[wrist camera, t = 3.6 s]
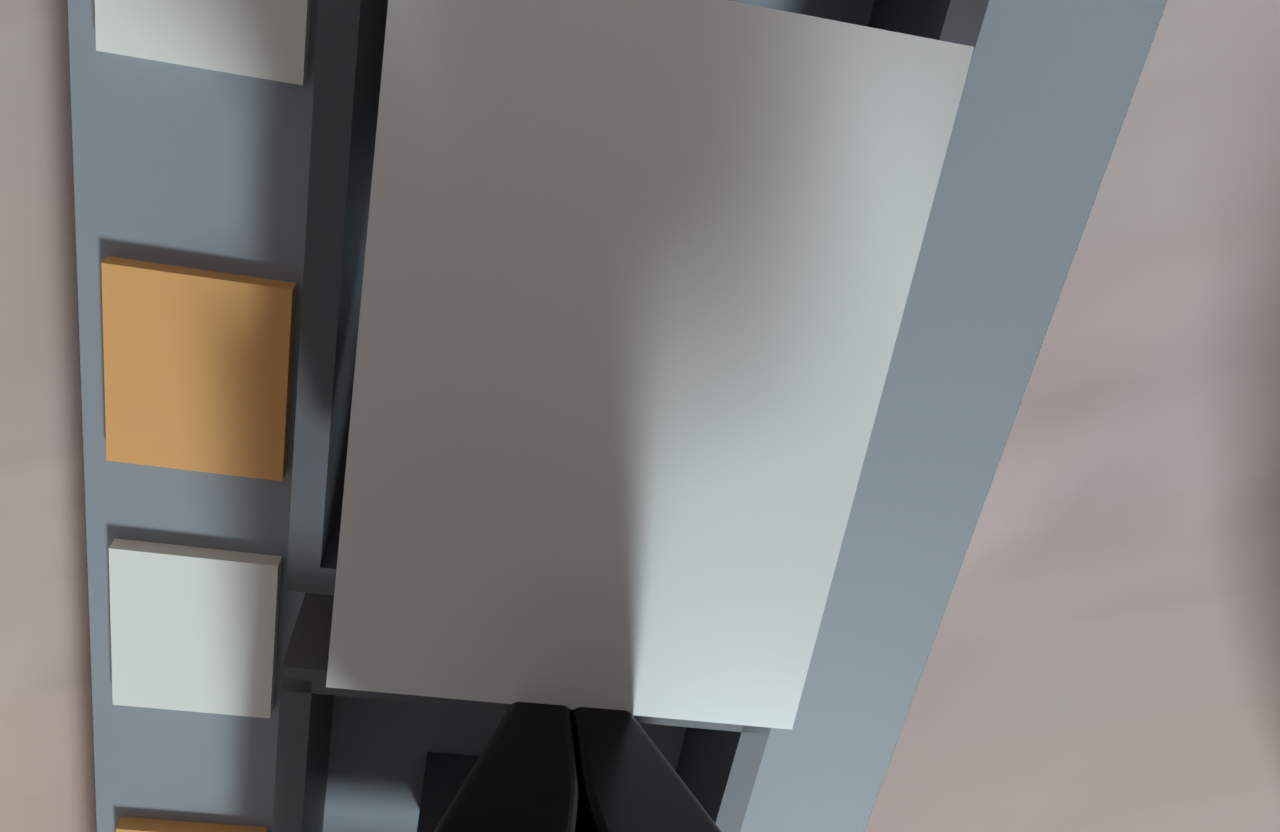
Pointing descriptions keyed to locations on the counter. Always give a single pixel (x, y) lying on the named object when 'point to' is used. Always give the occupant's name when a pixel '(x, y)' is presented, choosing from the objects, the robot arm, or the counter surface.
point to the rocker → (624, 345)
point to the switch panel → (322, 396)
